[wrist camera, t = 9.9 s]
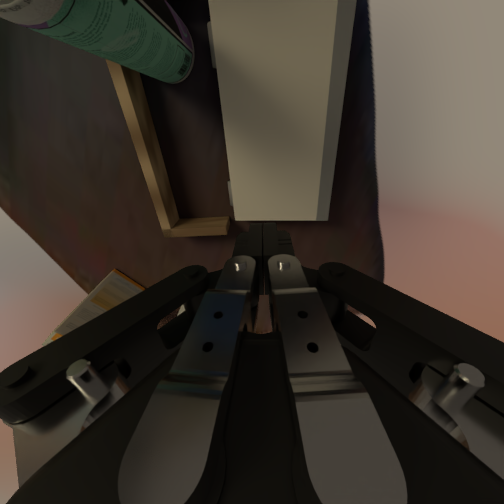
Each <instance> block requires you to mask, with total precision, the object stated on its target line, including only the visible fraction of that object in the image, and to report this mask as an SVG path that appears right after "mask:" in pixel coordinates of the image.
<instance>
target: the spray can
mask: <svg viewBox="0 0 504 504" xmlns="http://www.w3.org/2000/svg"><path fill="white" fill-rule="evenodd" d="M0 17H1V18H4V19H6V20H9V21H11V22H14V23H16V24H19V25H21V26H24V27H26V28H29V29H31V30H34V31H36V32H39V33H42V34H44V35H47V36H49V37H52V38H54V39H57V40H59V41H62V42H64V43H67V44H69V45H72V46H74V47H77V48H80V49H82V50H85V51H87V52H90V53H92V54H95V55H97V56H100V57H102V58H105V59H107V60H110V61H112V62H115V63H118V64H120V65H123V66H125V67H128V68H130V69H133V70H135V71H138V72H140V73H143V74H145V75H148V76H150V77H153V78H156V79H158V80H161V81H163V82H166V83H171V84H175V83H179V82H182V81H183V80H185V79H186V78H187V77H188V75H189V74H190V72H191V70H192V67H193V64H194V45H193V41H192V37H191V35H190V33H189V30H188V29H187V27H186V25H185V24H184V22H183V21H182V20H181V18H180V17H179V16H178V15H177V13H176V12H175V11H174V10H173V8H172V7H171V6H170V5H169V4H168V2H167V1H166V0H0Z"/></svg>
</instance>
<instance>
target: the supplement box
mask: <svg viewBox="0 0 504 504" xmlns="http://www.w3.org/2000/svg"><path fill="white" fill-rule="evenodd" d="M144 290H145V288H144V287H142V286H140V285H139V284H137V283H136V282H134V281H133V280H131V279H130V278H128V277H127V276H125V275H124V274H122V273H121V272H119V271H118V270H116V269H114V270H113V271H112V272H111V273H110V274H109V275H108V276H107V277H106V278H105V279H104V280H103V281H102V282H101V283H100V284H99V285H98V286H97V287H96V288H95V289H94V290H93V291H92V292H91V293H90V294H89V295H88V296H87V297H86V298H85V299H84V300H83V301H82V302H81V303H80V304H79V305H78V306H77V307H76V308H75V309H74V310H73V311H72V312H71V313H70V314H69V316H68V317H67V318H66V319H65V320H64V321H63V322H62V323H61V324H60V325H59V326H58V327H57V328H56V329H55V330H54V331H53V332H52V333H51V334H50V336H49V337H48V338H47V339H46V340H45V342H44V343H43V344H42V345H43V346H46V345H47V344H49V343H51V342H53V341H54V340H56V339H58V338H60V337H62V336H63V335H65V334H67V333H69V332H71V331H72V330H74V329H76V328H78V327H79V326H81V325H83V324H85V323H87V322H88V321H90V320H92V319H94V318H96V317H97V316H99V315H101V314H103V313H104V312H106V311H108V310H110V309H112V308H113V307H115V306H117V305H119V304H120V303H122V302H124V301H126V300H128V299H129V298H131V297H133V296H135V295H137V294H138V293H140V292H142V291H144Z"/></svg>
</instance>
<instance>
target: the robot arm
mask: <svg viewBox="0 0 504 504" xmlns="http://www.w3.org/2000/svg"><path fill="white" fill-rule="evenodd" d="M264 281H265V295H269V309H270V317H271V325H272V332H270V333H266V334H256V333H255V330H256V323H257V315H258V302H259V295H264ZM181 305H184V308H185V311H184V312H182V313H181V314H179V315H178V316H177V317H175V318H174V319H172V320H171V321H170V322H168V323H167V324H165V325H164V326H163V327H161V328H160V329H158V330H157V326H158V323H159V322H160V320H161V319H163V318H164V317H165V316H167V315H168V314H170V313H171V312H173V311H174V310H175V309H177V308H178V307H180V306H181ZM348 305H350V306H351V307H353V308H355V309H356V310H358V311H359V312H361V313H362V314H364V315H366V316H367V317H369V318H370V319H371V320H372V321H373V322H374V324H375V325H376V328H374V327H373V326H371V325H369V324H368V323H366V322H365V321H364V320H362V319H361V318H359V317H358V316H356V315H355V314H353V313H352V312H350V311H349V310H347V307H348ZM0 418H1V419H2V420H3V423H5V424H6V425H8V426H10V427H11V428H12V429H13V436H14V445H15V454H16V464H17V473H18V482H19V489H18V490H17V491H16V492H15V494H14V495H13V496H12V497H11V498H10V499H9V501H8V502H7V503H6V504H504V343H503V342H501V341H499V340H497V339H495V338H493V337H491V336H489V335H487V334H485V333H483V332H481V331H479V330H477V329H475V328H473V327H471V326H469V325H467V324H465V323H463V322H461V321H459V320H457V319H455V318H453V317H451V316H449V315H447V314H444V313H443V312H440V311H438V310H436V309H434V308H432V307H430V306H428V305H426V304H424V303H422V302H420V301H418V300H416V299H414V298H412V297H410V296H408V295H406V294H404V293H402V292H400V291H398V290H396V289H394V288H392V287H390V286H388V285H385V284H384V283H381V282H379V281H377V280H375V279H373V278H371V277H369V276H367V275H365V274H363V273H361V272H359V271H357V270H355V269H353V268H351V267H349V266H347V265H345V264H342V263H337V262H329V263H325V264H322V265H321V266H320V267H319V270H314V269H309V268H306V267H303V266H302V265H300V262H299V260H298V259H297V258H296V257H295V254H294V250H293V246H292V241H291V237H290V234H289V233H287V232H286V231H277V228H276V223H264V236H263V224H262V223H257V224H250V228H249V232H241V233H240V234H239V235H238V236H237V238H236V243H235V247H234V251H233V255H232V258H230V259H228V260H227V261H226V263H225V265H224V268H223V269H221V270H219V271H215V272H210V273H208V272H207V269H206V268H205V267H203V266H200V265H192V266H188V267H185V268H183V269H181V270H179V271H178V272H176V273H174V274H172V275H170V276H169V277H167V278H165V279H163V280H161V281H160V282H158V283H156V284H154V285H153V286H151V287H149V288H147V289H145V290H144V291H142V292H140V293H138V294H137V295H135V296H133V297H131V298H129V299H128V300H126V301H124V302H122V303H120V304H119V305H117V306H115V307H113V308H112V309H110V310H108V311H106V312H104V313H103V314H101V315H99V316H97V317H96V318H94V319H92V320H90V321H88V322H87V323H85V324H83V325H81V326H79V327H78V328H76V329H74V330H72V331H71V332H69V333H67V334H65V335H63V336H62V337H60V338H58V339H56V340H54V341H53V342H51V343H49V344H47V345H46V346H44V347H42V348H40V349H38V350H37V351H35V352H33V353H31V354H30V355H28V356H26V357H24V358H23V359H21V360H19V361H17V362H16V363H14V364H12V365H10V366H9V367H7V368H6V369H5V370H3V371H2V372H1V373H0Z"/></svg>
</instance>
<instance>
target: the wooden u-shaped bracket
mask: <svg viewBox="0 0 504 504" xmlns="http://www.w3.org/2000/svg"><path fill="white" fill-rule="evenodd" d="M106 62H107V65H108V68H109V71H110V74H111V77H112V80H113V83H114V86H115V89H116V92H117V95H118V98H119V101H120V104H121V107H122V110H123V113H124V116H125V119H126V122H127V125H128V128H129V131H130V134H131V137H132V140H133V143H134V146H135V149H136V152H137V155H138V158H139V161H140V164H141V167H142V170H143V173H144V176H145V179H146V182H147V185H148V188H149V191H150V194H151V197H152V200H153V203H154V206H155V209H156V212H157V215H158V218H159V221H160V224H161V227H162V231H163V234H164V237H186V236H209V235H227V232H228V229H229V226H230V219H229V216H227V217H207V218H187V219H179V215H178V211H177V208H176V204H175V201H174V197H173V193H172V190H171V186H170V182H169V179H168V175H167V171H166V168H165V164H164V160H163V157H162V153H161V150H160V146H159V142H158V139H157V135H156V131H155V128H154V124H153V120H152V117H151V113H150V109H149V106H148V102H147V99H146V95H145V91H144V88H143V84H142V80H141V77H140V73H139V72H138V71H135V70H133V69H130V68H128V67H125V66H123V65H120V64H118V63H115V62H112V61H110V60H107V59H106Z"/></svg>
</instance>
